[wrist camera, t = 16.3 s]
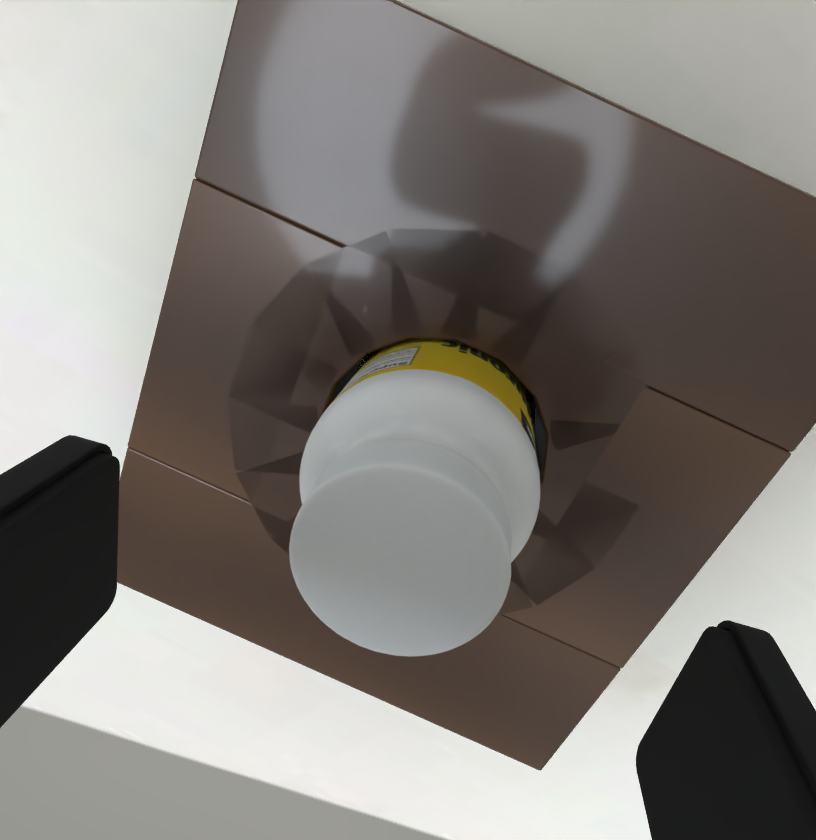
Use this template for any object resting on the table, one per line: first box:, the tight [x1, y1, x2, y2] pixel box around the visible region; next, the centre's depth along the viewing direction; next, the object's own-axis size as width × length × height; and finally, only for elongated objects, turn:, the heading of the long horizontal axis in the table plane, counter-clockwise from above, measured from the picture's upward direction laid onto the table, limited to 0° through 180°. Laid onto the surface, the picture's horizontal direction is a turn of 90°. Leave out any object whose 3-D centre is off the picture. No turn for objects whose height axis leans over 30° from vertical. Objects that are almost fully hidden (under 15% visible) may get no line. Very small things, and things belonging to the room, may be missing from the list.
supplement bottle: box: [289, 338, 540, 657], centre depth 15 cm, size 5×5×10 cm
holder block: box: [117, 0, 816, 770], centre depth 18 cm, size 18×16×4 cm
